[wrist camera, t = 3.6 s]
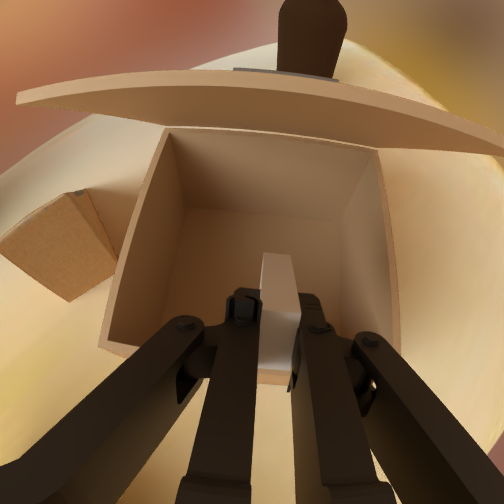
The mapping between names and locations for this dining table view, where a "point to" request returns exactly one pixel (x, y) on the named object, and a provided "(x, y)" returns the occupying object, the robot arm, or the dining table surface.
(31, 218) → the sandwich container
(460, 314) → the dining table surface
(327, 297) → the carton
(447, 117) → the lid flap
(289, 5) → the olive oil
